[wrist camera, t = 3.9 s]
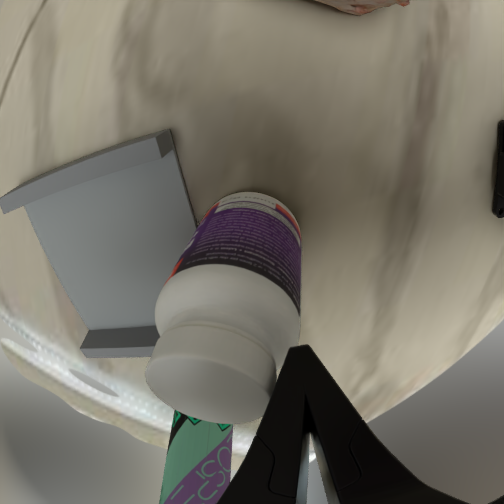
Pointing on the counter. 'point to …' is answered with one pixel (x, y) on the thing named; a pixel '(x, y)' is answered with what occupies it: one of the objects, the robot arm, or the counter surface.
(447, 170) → the counter surface
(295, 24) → the counter surface
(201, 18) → the counter surface
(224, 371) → the pill bottle
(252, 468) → the robot arm
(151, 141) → the tray
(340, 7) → the food item
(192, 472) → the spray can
